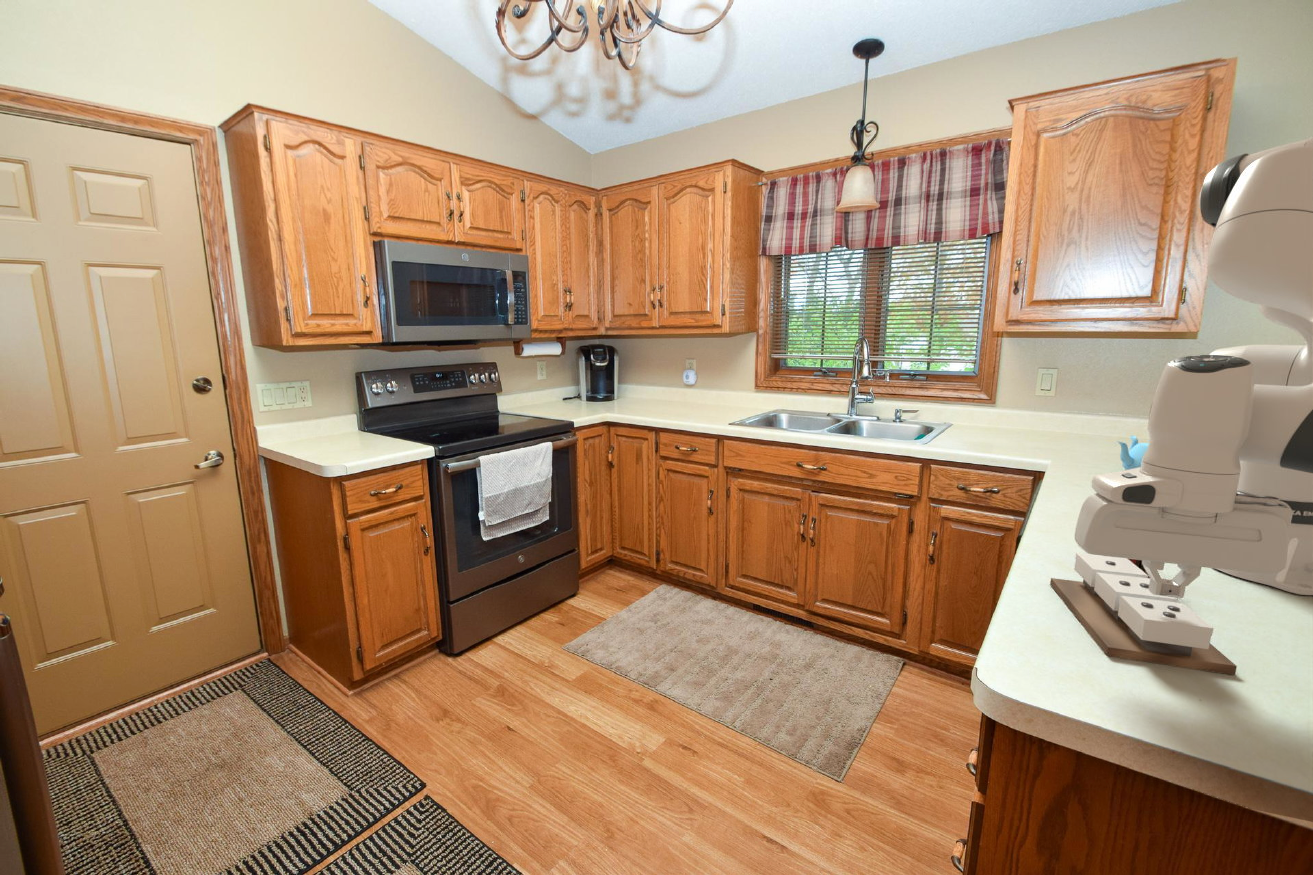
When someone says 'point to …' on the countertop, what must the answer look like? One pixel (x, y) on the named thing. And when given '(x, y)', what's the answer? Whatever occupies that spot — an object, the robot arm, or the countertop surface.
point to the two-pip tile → (1124, 589)
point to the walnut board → (1120, 635)
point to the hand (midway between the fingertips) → (1165, 594)
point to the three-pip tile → (1164, 622)
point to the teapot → (1132, 453)
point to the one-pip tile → (1104, 567)
